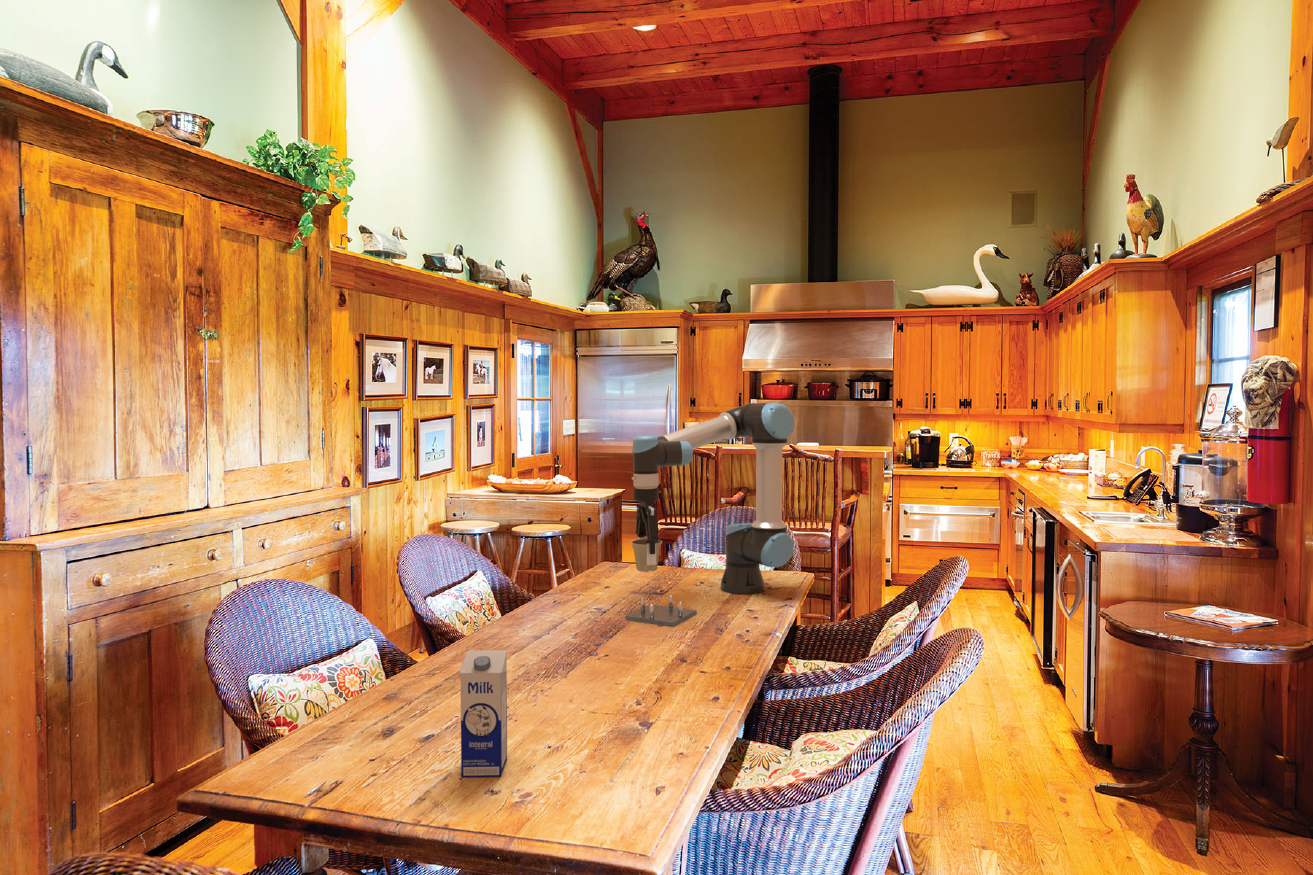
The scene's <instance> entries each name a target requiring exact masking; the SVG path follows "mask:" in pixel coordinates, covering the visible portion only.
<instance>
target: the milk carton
mask: <svg viewBox="0 0 1313 875" xmlns="http://www.w3.org/2000/svg"><path fill="white" fill-rule="evenodd" d="M507 660H508V650H507V649H503V650H502V649H495V650H494V649H493V650H492V649H491V650H490V649H489V650H488V649H487V650H486V649H485V650H483V649H482V650H473V649H472V650H467V651H466V654H465V656H464V659H463V661H462V665H461V668H460V670H459V674H460V752H461V753H460V758H461V759H460V765H461V766H460V767H461V768H460V769H461V770H460V772H461V773H460V777H461V778H501V777H502V775H503V771H504V770H505V766H506V764H507V761H508V699H507V698H508V695H507V693H508V692H507V690H508V689H507V688H508V686H507V685H508V684H507V683H508V682H507V681H508V680H507V677H508V676H507V674H508V673H507V671H508V670H507V669H508V668H507Z"/></svg>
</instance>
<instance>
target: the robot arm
mask: <svg viewBox="0 0 1313 875" xmlns="http://www.w3.org/2000/svg"><path fill="white" fill-rule="evenodd" d="M795 424H796V423H795V418H794V415H793V413H792V411H791V410H790V409H789V407H788V406H786V405H785V404H782V403H777V402H758V403H757V402H755V403H754V402H751V403H746V404H743V405H740V406H737V407H733V408H731V409H729V410H726V411H722V412H721V413H720V414H719V415H718V417H715V418H712V419H709V420H706V421H702V422H701V423H697V424H693V425H691V426H688V427H685V428H681V429H679V430H676V431H672V432H670V433H666V434H664V435H661V436H655V435H637V436H635V437H634V438H633V442H632V470H633V471H632V473H633V476H632V477H631V480H632V481H633V487H634V488H633V501H635V502H637V503H636V516H635V535H636V536H637V540H638V539H647V540H648V541H646V542H645V543H646V544H647V565H656V542H658V540H660V539H659V532H658V521H657V520H658V519H657V517H658V516H657V508H656V507H654V504H653V503H654V502H657V501H658V500H659V488H658V487H659V482H660V481H659V468H660V467H676V466H677V467H681V466H686V465H689V464H690V463H691V462H692V460H693V458H694V450H696V449H698V448H701V447H703V446H704V447H705V446H707V445H710V444H713V443H715V442H719V441H722V440H724V439H726V440H733V439H734V440H735V439H737V438H751V445H753V447H755V449H756V450H755V451H756V454H755V456H756V458H755V461H756V462H755V463H756V464H755V465H756V466H755V468H756V469H755V475H756V476H755V506H756V507H755V521H753V522H742V523H731V524H728V525H727V526H726V529H725V530H726V531H725V569H724V571H723V575H722V578H721V580H720V589H721V591H723V592H726V593H731V594H732V593H733V594H740V595H741V594H743V595H748V594H757V593H762V592H764V591H765V581H764V578H763V574H762V570H761V568H760V565H761V566H762V565H763V566H764V567H767V568H780V567H783V566H785V565H786V564H787V563H788V561H790V559H791V558H792V555H793V553H794V540H793V539H792V538H791V536H790V535H789V533H787V525H786V523H784V521H783V449H784V448H785V447H786V446H787V445H788V438H789V437H790V436H792V433H793V432H794V430H795Z"/></svg>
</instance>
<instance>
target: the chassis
mask: <svg viewBox="0 0 1313 875" xmlns="http://www.w3.org/2000/svg"><path fill="white" fill-rule="evenodd" d="M640 598H641V600H640V601H641V602H640V604H641V605H640V609H637V610H636V611H633V612H631V613H628V614H626V615H625V617H624V618H625V621H631V622H637V623H645V624H650V625H651V624H652V625H658V626H665V627H671V628H672V627H673V628H674V627H676V626H677V625H679V624H681V623H683V622H685V621H686V620H689V619H690V618H692V617H695V616H696V615H697V614H698V610H697V609H692V608H691V609H690V608H684V607H683V601H678V602H677V603H678V604H677V607H676V606H674V595H672V594H670V595H668V606H667V605H659V604H654V603H649V604H648V605H646V596H642V597H641V596H640Z"/></svg>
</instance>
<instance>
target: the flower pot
mask: <svg viewBox="0 0 1313 875" xmlns="http://www.w3.org/2000/svg"><path fill="white" fill-rule="evenodd" d="M646 541H648V540H647V539H638V538H637V539H634V540H631V541H630V544H631V546H632V549H633V554H634V559H635V569H636V571H638V572H642V573H643V572H644V573H649V572H655V571H657V570H658V565H659V556H660V548H661V546H662V543H663V541H662V540H660V539H659V540H658V542H656V565H647V544H646V543H645V542H646Z"/></svg>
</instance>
